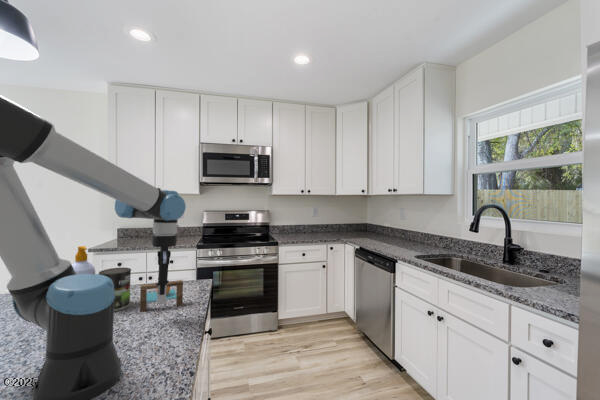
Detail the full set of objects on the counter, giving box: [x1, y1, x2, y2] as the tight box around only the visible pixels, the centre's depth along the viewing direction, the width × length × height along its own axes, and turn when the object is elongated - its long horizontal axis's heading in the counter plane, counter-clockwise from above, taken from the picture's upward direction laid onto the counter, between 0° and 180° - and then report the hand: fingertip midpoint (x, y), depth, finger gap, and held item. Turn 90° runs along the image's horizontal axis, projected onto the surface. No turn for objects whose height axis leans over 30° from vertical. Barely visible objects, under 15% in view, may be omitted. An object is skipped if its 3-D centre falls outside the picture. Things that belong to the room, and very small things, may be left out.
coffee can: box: [98, 267, 132, 312], centre depth 103 cm, size 10×10×14 cm
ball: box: [155, 287, 171, 295], centre depth 116 cm, size 6×6×6 cm
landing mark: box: [146, 288, 177, 303], centre depth 116 cm, size 12×12×1 cm
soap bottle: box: [71, 245, 96, 275], centre depth 99 cm, size 9×9×24 cm
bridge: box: [139, 279, 184, 313], centre depth 104 cm, size 3×14×9 cm, turn 119°
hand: (161, 303), depth 92 cm, fingers closed
